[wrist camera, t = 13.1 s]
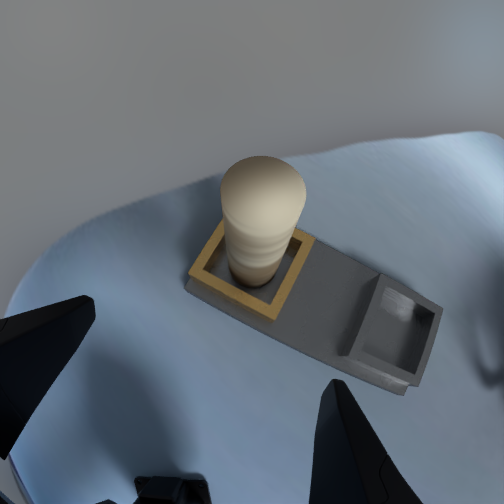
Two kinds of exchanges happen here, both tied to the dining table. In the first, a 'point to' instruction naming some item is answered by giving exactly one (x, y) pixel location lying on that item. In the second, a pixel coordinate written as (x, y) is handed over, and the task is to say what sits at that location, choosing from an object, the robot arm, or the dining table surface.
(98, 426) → the dining table surface
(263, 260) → the peg
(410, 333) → the grey socket board
